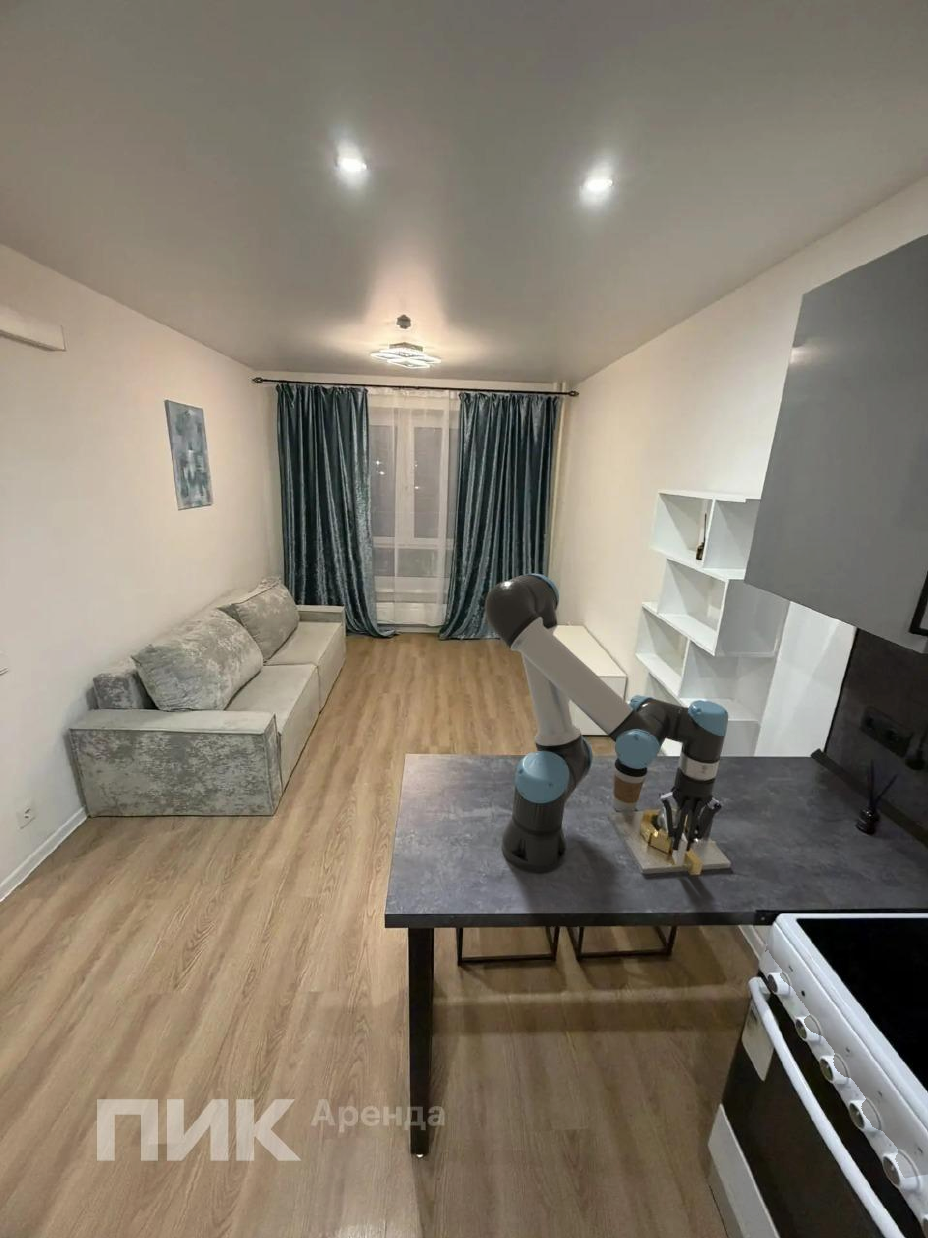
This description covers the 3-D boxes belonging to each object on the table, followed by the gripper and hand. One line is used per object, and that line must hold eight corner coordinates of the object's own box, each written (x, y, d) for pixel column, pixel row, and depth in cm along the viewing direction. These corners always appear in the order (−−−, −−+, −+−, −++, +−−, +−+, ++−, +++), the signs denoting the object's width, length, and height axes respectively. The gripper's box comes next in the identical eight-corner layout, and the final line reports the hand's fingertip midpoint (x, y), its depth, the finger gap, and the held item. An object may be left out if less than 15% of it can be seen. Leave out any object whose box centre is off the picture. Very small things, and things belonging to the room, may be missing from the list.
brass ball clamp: (632, 820, 129) (635, 806, 127) (675, 818, 130) (678, 804, 129) (670, 877, 111) (674, 861, 110) (719, 873, 113) (723, 858, 112)
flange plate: (645, 880, 112) (651, 852, 110) (607, 817, 132) (611, 793, 129) (735, 873, 116) (743, 847, 113) (685, 813, 135) (691, 790, 133)
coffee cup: (635, 798, 140) (644, 752, 136) (643, 819, 132) (652, 770, 128) (605, 795, 141) (613, 748, 136) (610, 815, 133) (619, 766, 128)
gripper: (670, 779, 104) (652, 870, 111) (735, 784, 103) (713, 876, 110) (660, 759, 111) (643, 846, 118) (720, 764, 110) (700, 851, 117)
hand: (677, 860), depth 114 cm, fingers closed
